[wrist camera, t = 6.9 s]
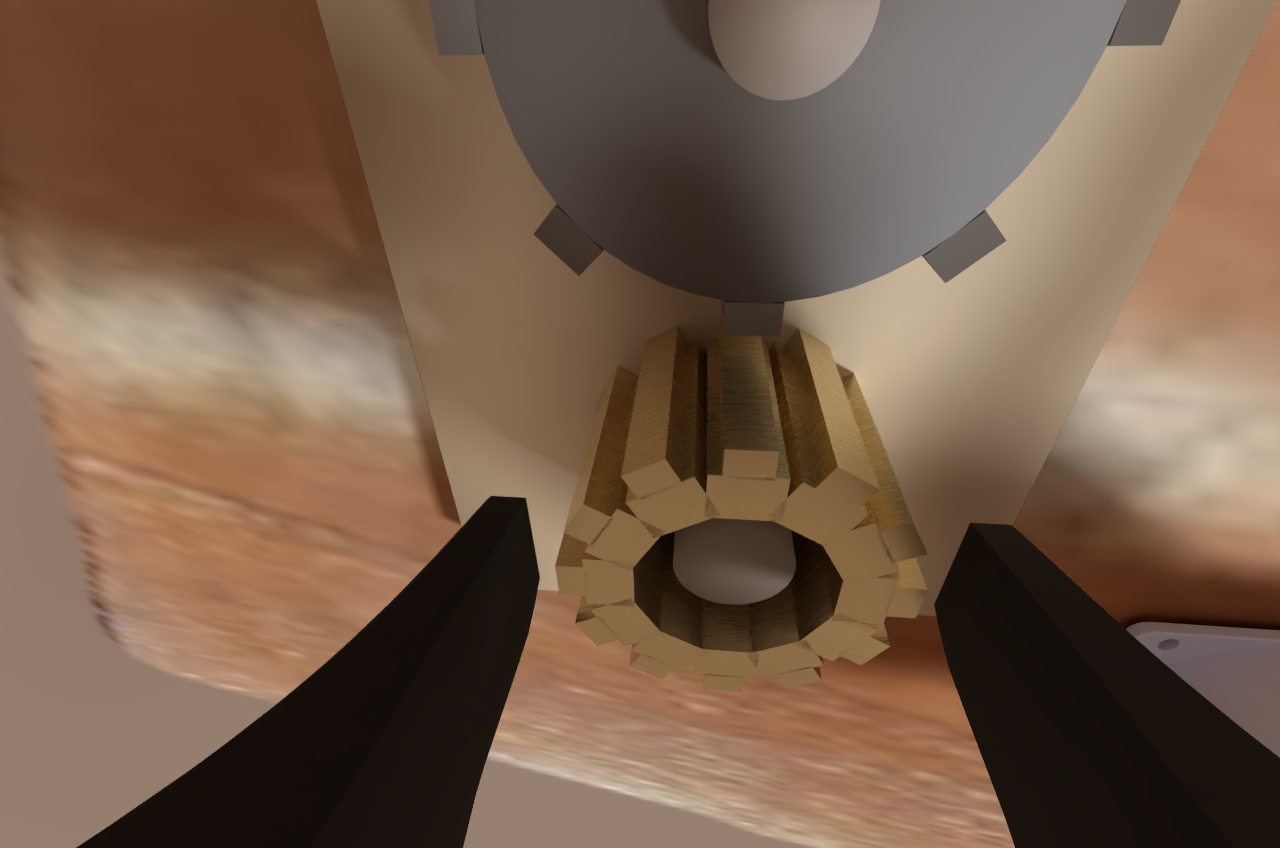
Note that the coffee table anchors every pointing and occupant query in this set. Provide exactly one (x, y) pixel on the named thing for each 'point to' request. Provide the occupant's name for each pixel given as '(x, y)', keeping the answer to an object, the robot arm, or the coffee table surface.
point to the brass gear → (739, 510)
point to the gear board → (883, 331)
